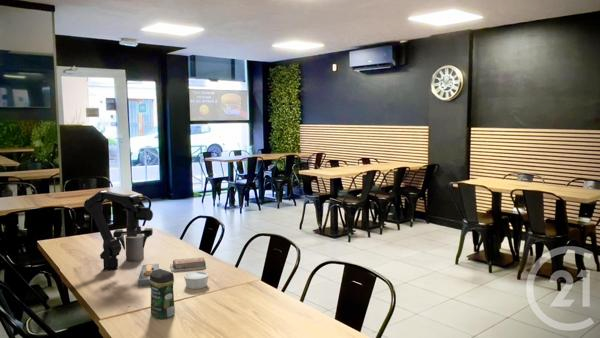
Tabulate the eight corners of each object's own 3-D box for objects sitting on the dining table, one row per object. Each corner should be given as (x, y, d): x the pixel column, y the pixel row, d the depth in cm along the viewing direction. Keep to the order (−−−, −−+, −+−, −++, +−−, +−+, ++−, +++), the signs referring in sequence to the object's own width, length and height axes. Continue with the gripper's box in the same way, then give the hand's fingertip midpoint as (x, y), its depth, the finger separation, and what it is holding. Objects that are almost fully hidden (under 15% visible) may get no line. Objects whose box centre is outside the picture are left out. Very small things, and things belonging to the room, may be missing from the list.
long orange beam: (145, 281, 227) (145, 271, 227) (147, 274, 237) (146, 264, 237) (150, 280, 228) (150, 270, 227) (152, 274, 238) (152, 264, 237)
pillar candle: (122, 260, 260) (121, 234, 258) (134, 255, 269) (133, 230, 267) (135, 263, 256) (135, 236, 254) (147, 258, 265) (147, 232, 263)
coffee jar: (147, 315, 188) (146, 270, 186) (164, 308, 194) (163, 265, 192) (161, 321, 182) (160, 275, 180) (178, 315, 188) (177, 270, 186)
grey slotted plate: (155, 285, 222) (155, 279, 222) (138, 286, 220) (138, 280, 220) (158, 269, 245) (158, 263, 245) (142, 270, 243) (142, 264, 243)
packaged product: (204, 255, 256) (206, 260, 246) (204, 263, 256) (206, 269, 247) (170, 258, 250) (171, 263, 241) (170, 267, 250) (171, 272, 241)
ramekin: (212, 283, 225) (212, 272, 224) (200, 291, 214) (200, 280, 214) (192, 280, 229) (192, 270, 228) (179, 288, 218) (179, 277, 218)
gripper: (111, 223, 228) (112, 254, 230) (150, 221, 233) (151, 252, 234) (114, 218, 239) (115, 248, 241) (152, 217, 244) (153, 246, 245)
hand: (133, 249), depth 240 cm, fingers open, 9 cm apart
